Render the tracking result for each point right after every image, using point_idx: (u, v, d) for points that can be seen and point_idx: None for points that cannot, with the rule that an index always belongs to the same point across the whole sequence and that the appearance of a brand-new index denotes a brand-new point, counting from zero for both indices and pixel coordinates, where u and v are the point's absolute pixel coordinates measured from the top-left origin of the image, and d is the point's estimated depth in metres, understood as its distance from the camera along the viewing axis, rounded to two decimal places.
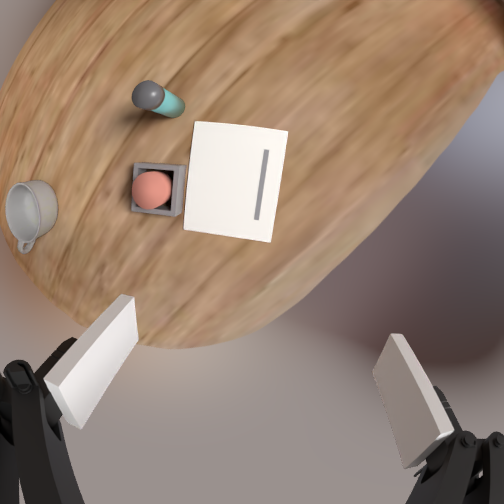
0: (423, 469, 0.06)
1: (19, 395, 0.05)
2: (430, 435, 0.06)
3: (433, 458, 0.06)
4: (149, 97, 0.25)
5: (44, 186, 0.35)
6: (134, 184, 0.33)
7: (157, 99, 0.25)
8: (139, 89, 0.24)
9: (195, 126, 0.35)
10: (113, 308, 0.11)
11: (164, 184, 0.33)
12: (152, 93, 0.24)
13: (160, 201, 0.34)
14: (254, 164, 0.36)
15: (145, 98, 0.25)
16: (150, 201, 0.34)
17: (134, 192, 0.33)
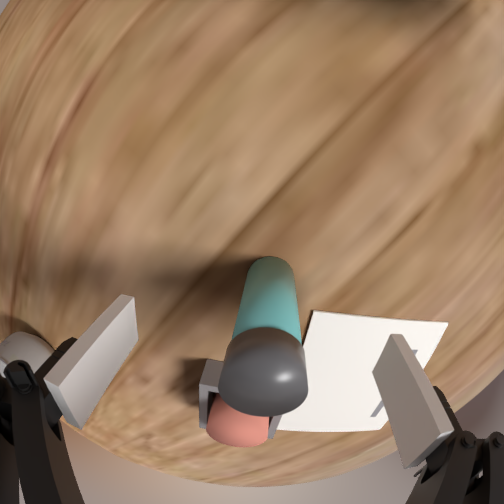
0: (423, 469, 0.06)
1: (19, 395, 0.05)
2: (430, 435, 0.06)
3: (433, 458, 0.06)
4: (278, 401, 0.09)
5: (36, 355, 0.20)
6: (210, 425, 0.18)
7: None
8: (242, 378, 0.09)
9: (313, 320, 0.19)
10: (113, 309, 0.11)
11: (266, 430, 0.18)
12: (288, 395, 0.09)
13: (258, 443, 0.18)
14: None
15: (265, 401, 0.09)
16: (240, 442, 0.19)
17: (211, 431, 0.18)
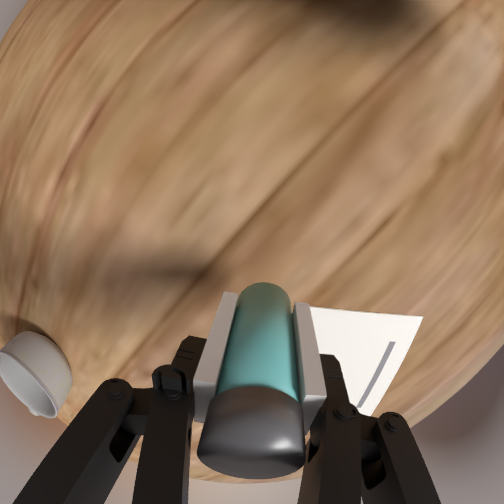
0: (307, 445, 0.08)
1: (162, 400, 0.07)
2: (301, 397, 0.09)
3: (311, 434, 0.08)
4: (270, 468, 0.07)
5: (44, 352, 0.23)
6: None
7: None
8: (224, 449, 0.06)
9: None
10: (226, 305, 0.13)
11: None
12: (282, 463, 0.06)
13: None
14: (373, 359, 0.24)
15: (255, 468, 0.07)
16: None
17: None
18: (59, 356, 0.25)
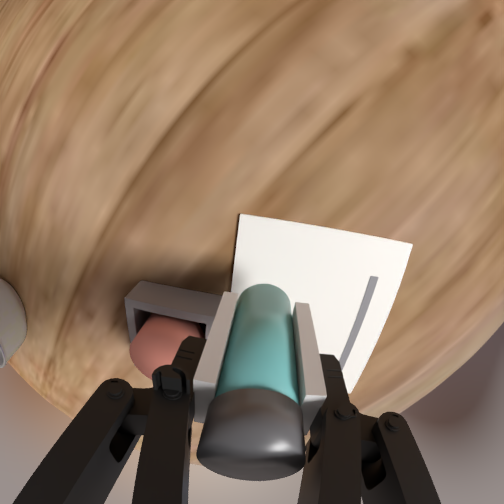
0: (307, 445, 0.08)
1: (162, 399, 0.07)
2: (301, 397, 0.09)
3: (311, 434, 0.08)
4: (270, 470, 0.07)
5: None
6: (133, 347, 0.17)
7: None
8: (223, 451, 0.06)
9: (241, 225, 0.18)
10: (226, 305, 0.13)
11: None
12: (281, 465, 0.06)
13: None
14: (350, 300, 0.20)
15: (254, 469, 0.07)
16: None
17: (135, 358, 0.17)
18: (13, 298, 0.21)
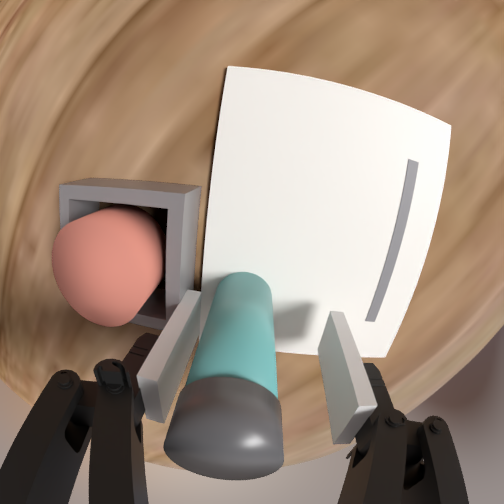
0: (353, 451, 0.08)
1: (106, 394, 0.07)
2: (351, 408, 0.08)
3: (359, 440, 0.08)
4: (246, 468, 0.06)
5: None
6: (56, 254, 0.10)
7: None
8: (191, 446, 0.06)
9: (229, 79, 0.11)
10: (186, 303, 0.13)
11: (137, 261, 0.10)
12: (257, 463, 0.06)
13: (132, 311, 0.10)
14: (386, 195, 0.13)
15: (228, 467, 0.06)
16: (104, 308, 0.10)
17: (60, 276, 0.10)
18: None
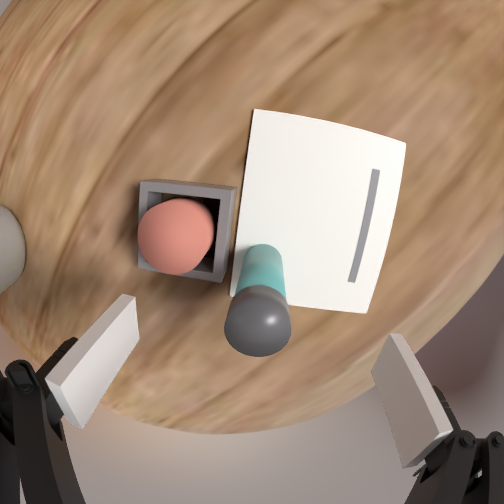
0: (422, 469, 0.06)
1: (20, 395, 0.05)
2: (429, 434, 0.06)
3: (432, 458, 0.06)
4: (270, 340, 0.14)
5: (2, 216, 0.20)
6: (142, 225, 0.17)
7: None
8: (241, 319, 0.13)
9: (255, 118, 0.19)
10: (114, 308, 0.11)
11: (204, 228, 0.17)
12: (276, 333, 0.13)
13: (196, 261, 0.18)
14: (356, 192, 0.21)
15: (260, 340, 0.14)
16: (175, 260, 0.18)
17: (143, 241, 0.18)
18: (16, 225, 0.22)
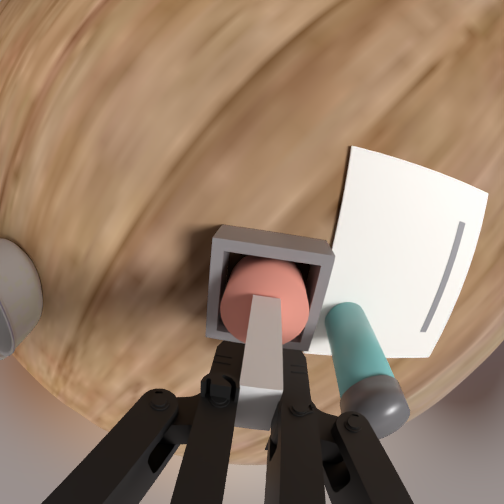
0: (268, 443, 0.08)
1: (209, 406, 0.07)
2: None
3: None
4: (386, 428, 0.10)
5: (9, 256, 0.17)
6: (228, 296, 0.15)
7: None
8: (367, 418, 0.10)
9: (352, 157, 0.16)
10: (257, 309, 0.13)
11: (307, 301, 0.15)
12: (395, 422, 0.10)
13: (294, 334, 0.15)
14: (443, 247, 0.17)
15: (377, 430, 0.10)
16: None
17: (227, 313, 0.15)
18: (28, 265, 0.19)
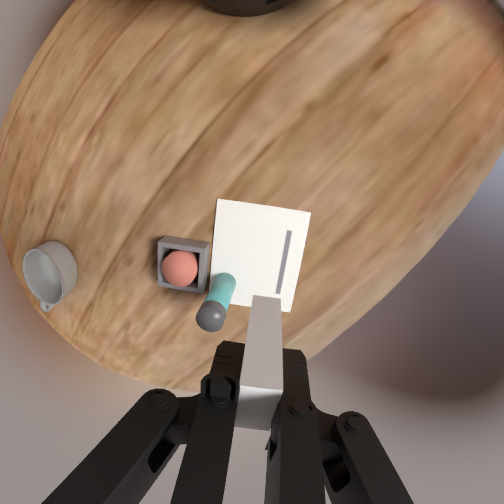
0: (268, 443, 0.08)
1: (209, 407, 0.07)
2: None
3: None
4: (215, 324, 0.32)
5: (62, 250, 0.38)
6: (164, 263, 0.37)
7: None
8: (201, 315, 0.32)
9: (218, 204, 0.37)
10: (257, 309, 0.13)
11: (193, 265, 0.37)
12: (217, 321, 0.32)
13: (191, 280, 0.37)
14: (277, 244, 0.39)
15: (211, 324, 0.32)
16: (180, 280, 0.38)
17: (164, 270, 0.37)
18: (72, 255, 0.40)
